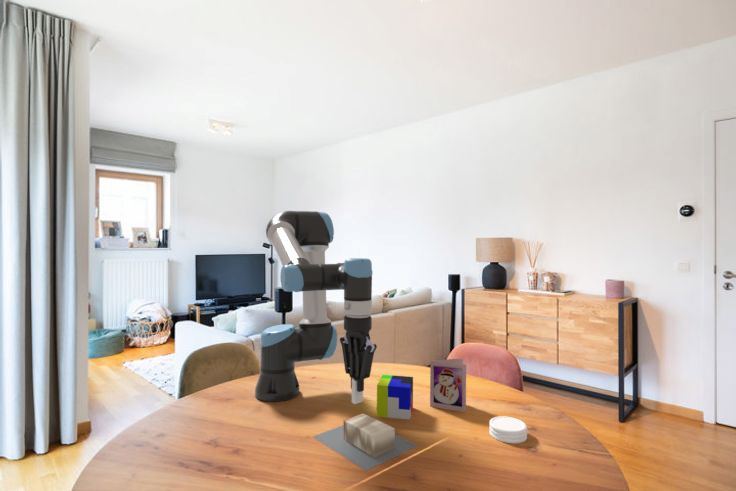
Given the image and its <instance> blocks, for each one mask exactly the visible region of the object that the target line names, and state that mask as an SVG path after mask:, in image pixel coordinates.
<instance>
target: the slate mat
mask: <svg viewBox="0 0 736 491" xmlns="http://www.w3.org/2000/svg"><path fill="white" fill-rule="evenodd" d="M312 438H314V439H315V440H317V441H319V442H321V443H322V444H323V445H325V446H326V447H328V448H329V449H331V450H333V451H334V452H335V453H338V454H339V455H341V456H342V457H344V458H345V459H346V460H348V461H350V462H351V463H353V464H355V465H356V466H357V467H359V468H361V469H362V470H364V471H365V472H368V471H370V470H372V469H374V468H376V467H377V466H380V465H382V464H384V463H386V462H388V461H390V460H392V459H394V458H395V457H397V456H400V455H402V454H403V453H406V452H408V451H410V450H412V449H414V448H416V447H418V446H419V445H418V444H417V443H414V442H412V441H410V440H408V439H406V438H403V437H402V436H400V435H398V434H396V433H395V448H393V449H391V450H389V451H387V452H385V453H382V454H380V455H378V456H376V457H373V456H372V455H370V454H368V453H367V452H365V451H363V450H361V449H360V448H358V447H356V446H355V445H353V444H351V443H350V442H348V441H346V440H344V424H343V425H340V426H337V427H335V428H331V429H329V430H326V431H324V432H322V433H319V434H315V435H313V436H312Z"/></svg>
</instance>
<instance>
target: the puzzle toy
mask: <svg viewBox="0 0 736 491" xmlns="http://www.w3.org/2000/svg"><path fill="white" fill-rule="evenodd" d="M378 380H379V381H378V383H377V385H376V417H378V418H390V419H399V420H411V417H412V412H413V409H414V405H413V404H414V376H404V375H392V374H390V375H389V374H381V376H380V379H378Z"/></svg>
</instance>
